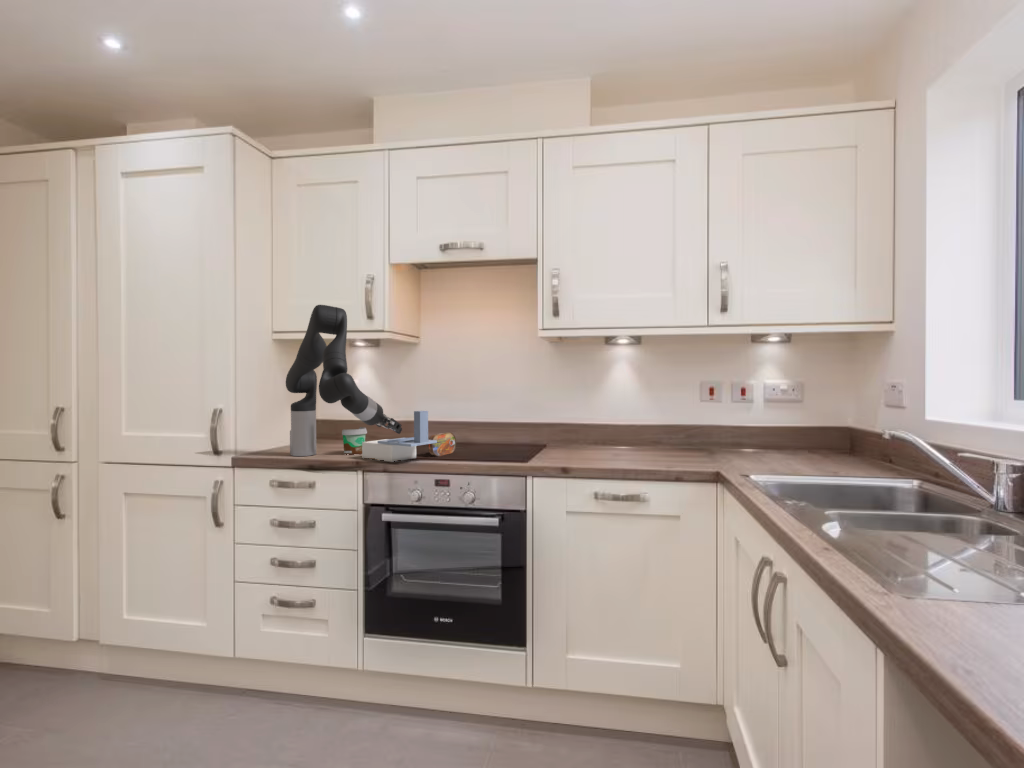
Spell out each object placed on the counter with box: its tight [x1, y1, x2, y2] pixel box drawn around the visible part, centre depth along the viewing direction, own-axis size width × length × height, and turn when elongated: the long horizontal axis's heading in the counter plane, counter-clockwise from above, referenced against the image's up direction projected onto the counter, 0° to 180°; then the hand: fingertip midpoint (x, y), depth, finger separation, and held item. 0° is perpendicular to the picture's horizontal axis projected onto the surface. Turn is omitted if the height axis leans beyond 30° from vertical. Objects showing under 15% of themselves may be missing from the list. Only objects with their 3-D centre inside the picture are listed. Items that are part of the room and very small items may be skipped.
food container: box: [341, 426, 368, 456], centre depth 219 cm, size 12×6×10 cm, turn 161°
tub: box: [361, 438, 417, 463], centre depth 207 cm, size 16×12×6 cm
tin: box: [427, 431, 457, 457], centre depth 216 cm, size 15×3×8 cm, turn 149°
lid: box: [378, 410, 437, 447], centre depth 201 cm, size 17×13×12 cm
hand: (390, 427), depth 192 cm, fingers open, 8 cm apart
